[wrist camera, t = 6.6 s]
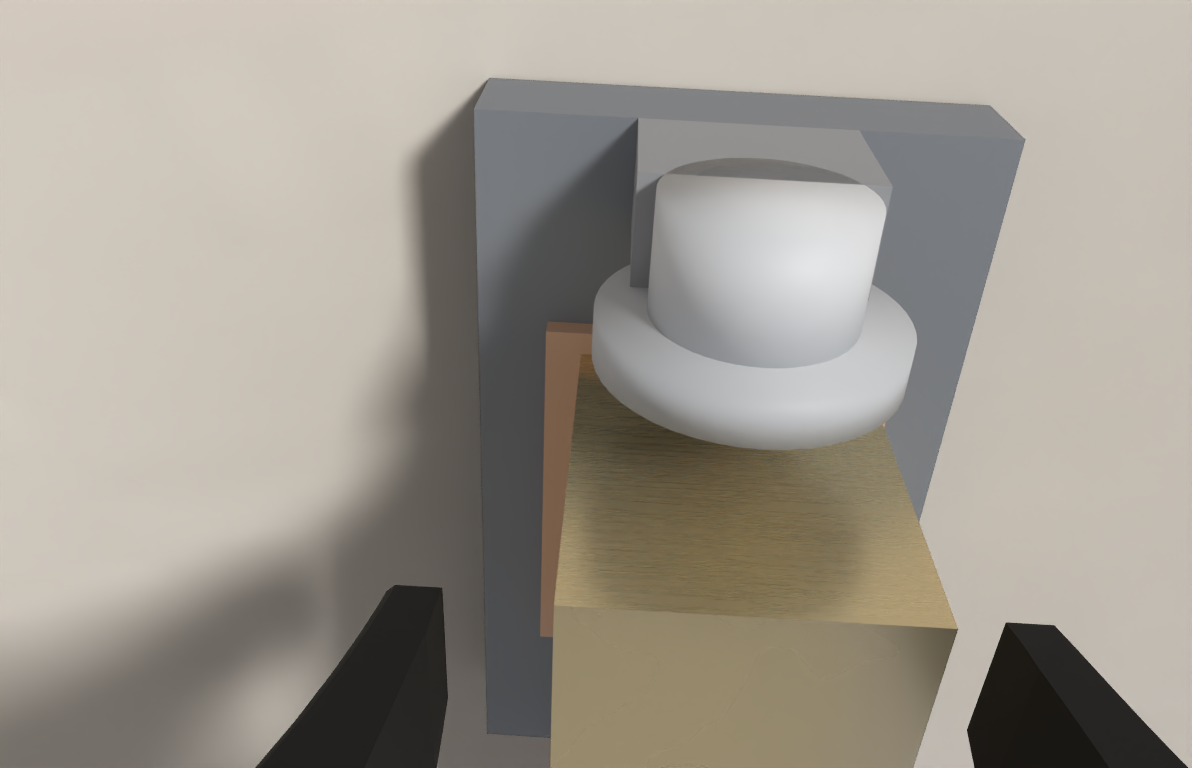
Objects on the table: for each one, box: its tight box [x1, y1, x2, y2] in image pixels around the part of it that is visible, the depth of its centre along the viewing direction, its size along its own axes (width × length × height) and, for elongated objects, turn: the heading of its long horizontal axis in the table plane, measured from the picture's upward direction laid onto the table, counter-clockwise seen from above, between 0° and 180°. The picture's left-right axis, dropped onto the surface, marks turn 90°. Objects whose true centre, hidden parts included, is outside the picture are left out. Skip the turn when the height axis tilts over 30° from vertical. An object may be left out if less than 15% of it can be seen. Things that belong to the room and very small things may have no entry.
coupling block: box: [550, 354, 958, 768], centre depth 13 cm, size 5×4×5 cm
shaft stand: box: [474, 78, 1025, 738], centre depth 15 cm, size 12×7×6 cm, turn 178°
